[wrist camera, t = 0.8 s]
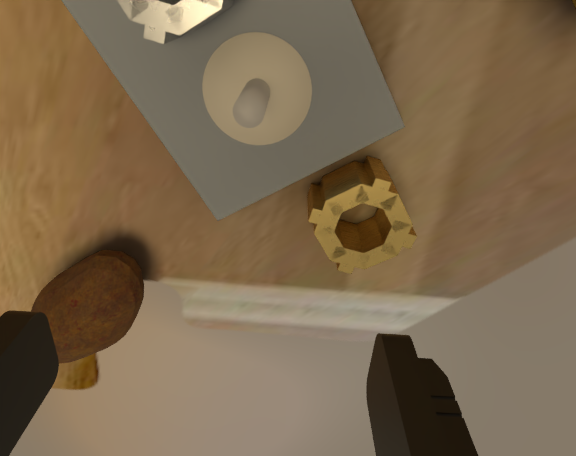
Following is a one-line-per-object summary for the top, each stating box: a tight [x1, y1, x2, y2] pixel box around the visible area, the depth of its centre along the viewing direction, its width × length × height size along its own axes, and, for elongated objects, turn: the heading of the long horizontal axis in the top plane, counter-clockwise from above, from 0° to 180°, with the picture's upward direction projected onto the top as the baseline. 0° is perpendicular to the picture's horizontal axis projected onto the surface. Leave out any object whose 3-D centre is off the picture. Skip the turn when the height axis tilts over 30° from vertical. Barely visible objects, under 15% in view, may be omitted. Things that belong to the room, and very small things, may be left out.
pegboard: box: [62, 0, 405, 220], centre depth 23 cm, size 14×20×6 cm
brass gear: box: [307, 156, 417, 274], centre depth 29 cm, size 6×6×4 cm
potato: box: [31, 250, 144, 363], centre depth 32 cm, size 7×12×7 cm, turn 139°
